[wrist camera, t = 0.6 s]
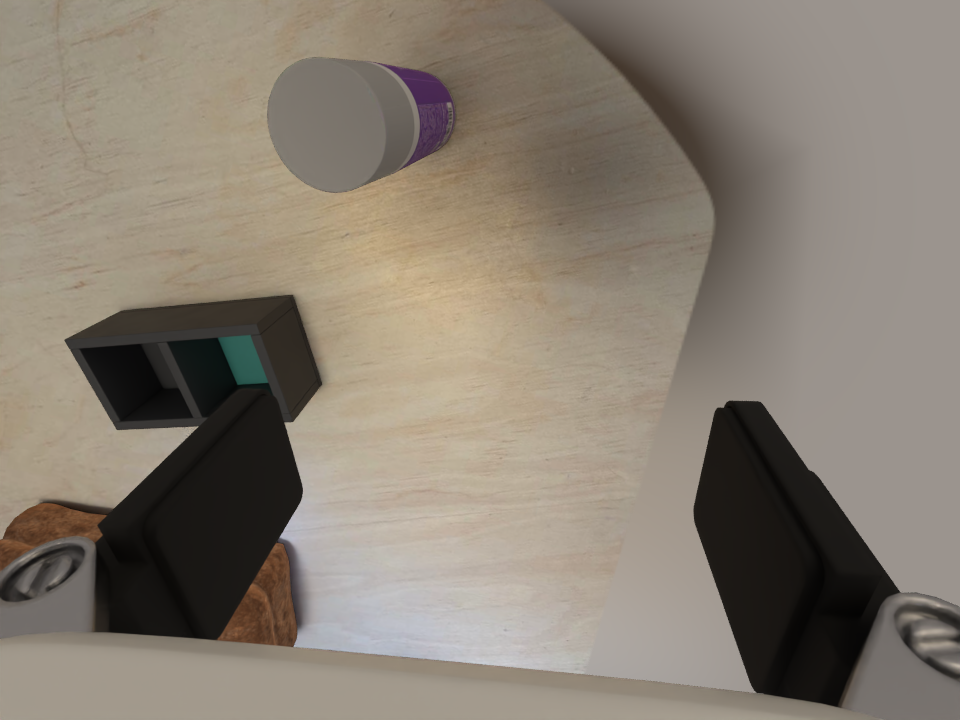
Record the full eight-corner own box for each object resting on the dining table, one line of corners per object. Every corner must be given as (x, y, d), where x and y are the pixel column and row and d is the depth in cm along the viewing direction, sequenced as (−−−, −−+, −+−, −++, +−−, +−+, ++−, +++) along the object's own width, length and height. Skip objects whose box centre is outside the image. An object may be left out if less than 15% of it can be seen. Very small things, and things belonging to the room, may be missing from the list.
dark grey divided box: (121, 310, 40) (63, 339, 36) (292, 294, 38) (256, 323, 33) (163, 393, 44) (116, 430, 39) (322, 384, 42) (293, 422, 37)
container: (425, 52, 29) (328, 18, 16) (471, 124, 31) (416, 147, 18) (368, 103, 31) (237, 110, 18) (413, 169, 32) (324, 220, 19)
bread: (32, 492, 53) (-88, 584, 43) (296, 537, 51) (236, 645, 41) (78, 592, 61) (-13, 690, 51) (307, 634, 60) (259, 743, 50)
